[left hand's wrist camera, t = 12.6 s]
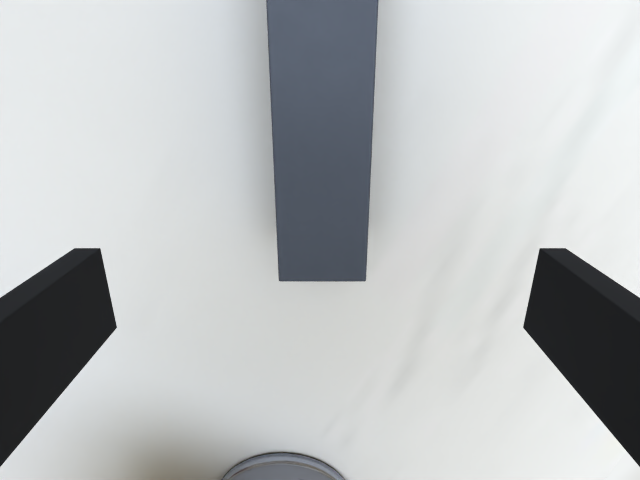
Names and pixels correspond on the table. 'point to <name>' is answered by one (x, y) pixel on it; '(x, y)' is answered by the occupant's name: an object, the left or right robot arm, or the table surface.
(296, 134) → the post
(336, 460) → the table surface
